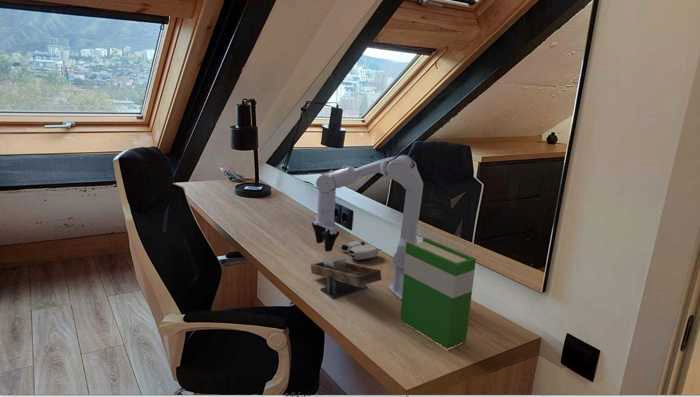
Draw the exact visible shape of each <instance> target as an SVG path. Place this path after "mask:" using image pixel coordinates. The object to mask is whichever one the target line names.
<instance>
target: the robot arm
mask: <svg viewBox="0 0 700 397" xmlns="http://www.w3.org/2000/svg"><path fill="white" fill-rule="evenodd" d="M377 173H379V174H381V175H383V176H388V177H389V178H390V179H391V180H393V181H395V182H397V183H399V184H400V185H401V186H402V187H403V188H404V189H405V197H404V206H403V213H402V221H401V230H400V238H399V240H398V244H397V247H396V251H395V252H394V255H393V257H392V262H393V275H392V284H390V285H387V286H386V287H387V288H388V289H389V291H391V292H392V293H393V294H394V295H395V296H396V297H397V298H398V299H399V300H401V299H402V292H403V279H404V266H405V253H406V243H407V242H410V243H412V244H416V243H418V239H417V234H418V227H419V218H420V211H421V204H422V197H423V189H424V181H423V179H422V177H421V175H420V172H419V170H418V167H417V163H416V162H415V161H414V160H413V159H412V158H411V156H409V155H406V154H400V155H398V156H397V157H396V156H391V157H386V158H383V159H379V160H376V161H373V162H370V163H368V164H365V165H362V166H359V167H356V168H355V167H353V166H352V165H346V164H345V165H343V166H341V168H340V169H336V170H334V169H332V170H329V172H326V173H324V174H321V175H320V176H319V177H317V179H316V181H315V185H316V189H317V191H318V193H317V194H318V195H317V211H316V212H317V214H314V221H313V222H311V226H312V228H313V230H314V235H315V240H316V243H317V244H324V251H325V252H326V253H327V252H332V250H333V248H334V245H335V242H336V240H337V238H338V237H339V235H340V232H339V231H338V228H337V227H336V222H335V210H336V192H337V191H336V189H340V188H343V187H347V186H350V185H353V184H356V183H357V182H358V179H359V178H363V177H367V176H370V175H374V174H377Z"/></svg>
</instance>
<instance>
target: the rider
mask: <svg viewBox="0 0 700 397" xmlns="http://www.w3.org/2000/svg"><path fill="white" fill-rule="evenodd" d="M322 260H323V261H322V262H323V264H324V267H325V268H329V269H333V270H337V271H340V272H342V271H346V270H347V267H346V262H347V259H346V258H345V257H341V256H337V255H333V256H330V257H326V258H323V259H322Z"/></svg>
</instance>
